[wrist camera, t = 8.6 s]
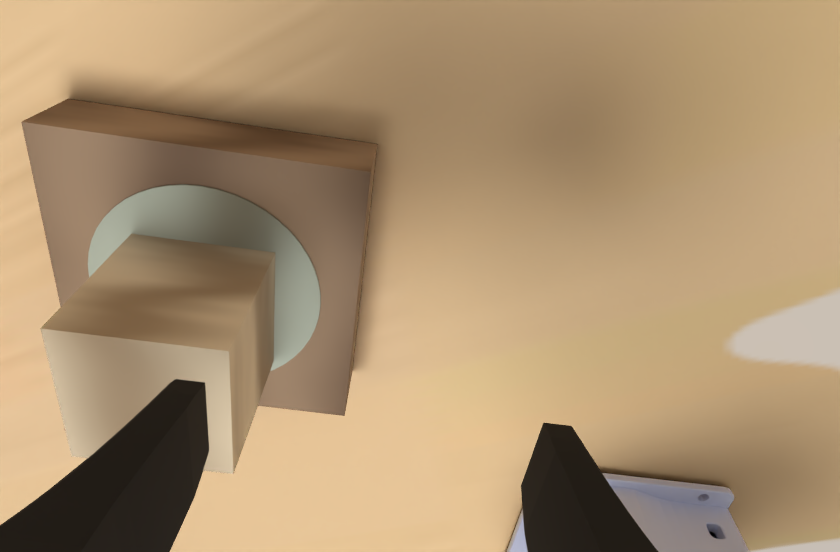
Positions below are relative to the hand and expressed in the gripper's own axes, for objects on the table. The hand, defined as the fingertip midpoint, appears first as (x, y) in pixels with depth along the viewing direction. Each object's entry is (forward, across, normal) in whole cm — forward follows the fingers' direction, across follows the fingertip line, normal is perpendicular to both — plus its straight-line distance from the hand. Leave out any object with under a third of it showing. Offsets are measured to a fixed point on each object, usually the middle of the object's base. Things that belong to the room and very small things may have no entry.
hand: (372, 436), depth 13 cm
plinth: (+10, +6, +2) cm, 12 cm away
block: (+7, +6, +2) cm, 10 cm away
